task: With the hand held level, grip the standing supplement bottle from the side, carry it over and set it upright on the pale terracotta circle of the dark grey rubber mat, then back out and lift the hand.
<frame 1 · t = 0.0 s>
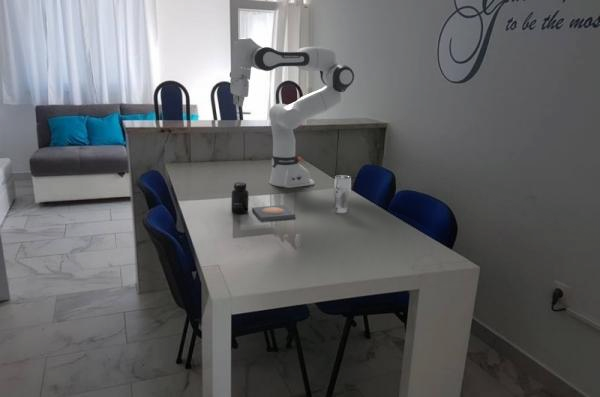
hand: (237, 105, 218), 39 cm above the table, tool pointing down, fingers open, 8 cm apart
supplement bottle: (240, 212, 191), on the table
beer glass: (340, 212, 195), on the table
mat: (273, 214, 189), on the table
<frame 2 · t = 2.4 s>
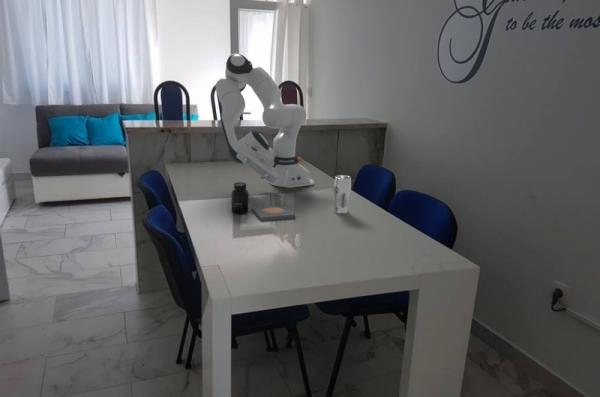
hand: (253, 170, 199), 14 cm above the table, tool horizontal, fingers open, 8 cm apart
nothing on the table moved.
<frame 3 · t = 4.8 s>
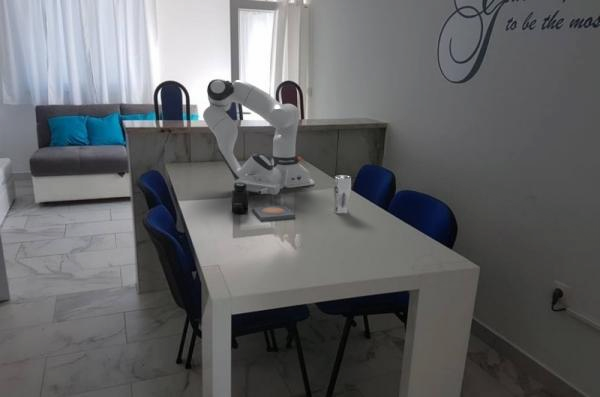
hand: (250, 190, 198), 6 cm above the table, tool horizontal, fingers open, 8 cm apart
nothing on the table moved.
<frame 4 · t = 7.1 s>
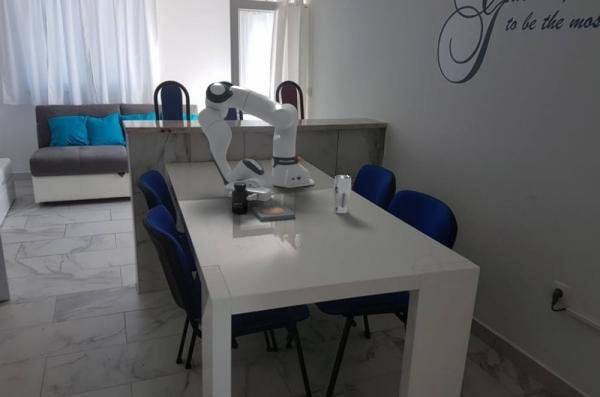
hand: (239, 197, 188), 7 cm above the table, tool horizontal, fingers closed on supplement bottle, 7 cm apart
supplement bottle: (240, 212, 191), on the table, touching gripper
everything else where it was.
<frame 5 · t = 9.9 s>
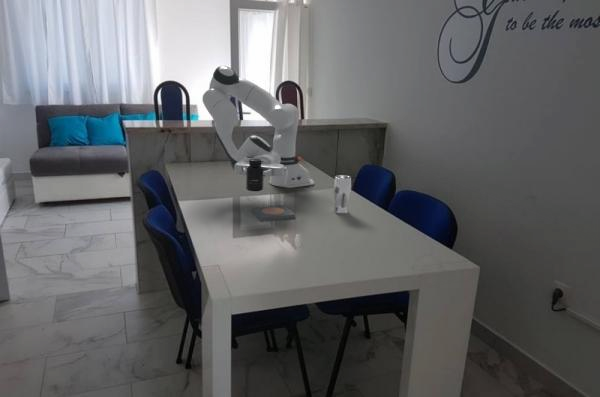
hand: (254, 173, 184), 17 cm above the table, tool horizontal, fingers closed on supplement bottle, 7 cm apart
supplement bottle: (254, 189, 187), point 10 cm above the table, touching gripper
everything else where it was.
when the fingers open (9 cm above the table, at t = 13.0 s): supplement bottle stays where it is, resting on mat.
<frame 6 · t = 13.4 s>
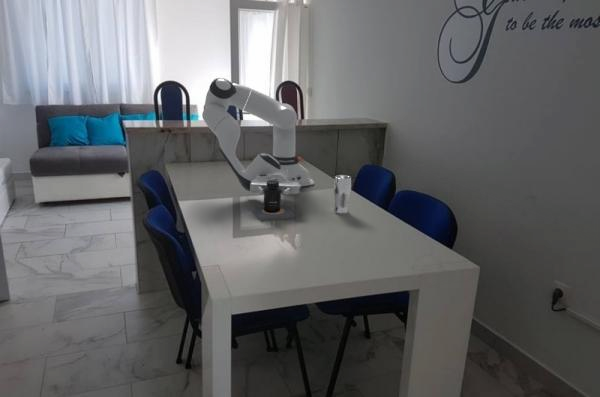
hand: (273, 192, 186), 9 cm above the table, tool horizontal, fingers open, 8 cm apart
supplement bottle: (272, 211, 189), point 1 cm above the table, touching mat
everything else where it was.
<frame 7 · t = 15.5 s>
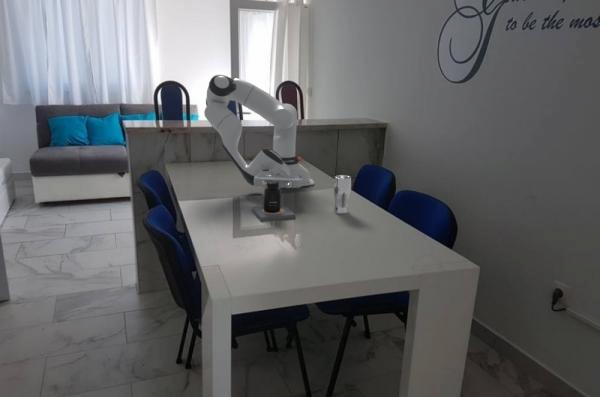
hand: (275, 186, 195), 9 cm above the table, tool horizontal, fingers open, 8 cm apart
nothing on the table moved.
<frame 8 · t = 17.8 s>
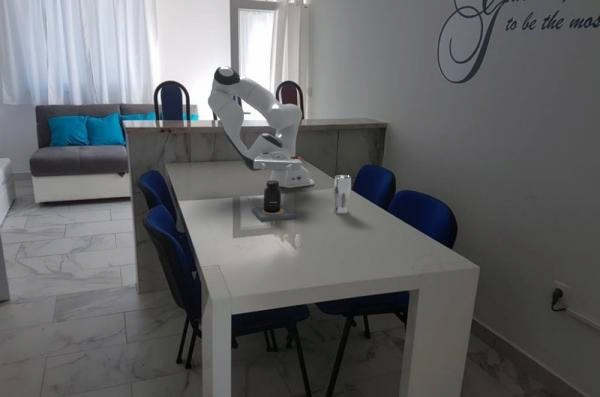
hand: (275, 168, 193), 17 cm above the table, tool horizontal, fingers open, 8 cm apart
nothing on the table moved.
at the end: supplement bottle inside the target area on the mat (0.4 cm from its centre), point 1.4 cm above the mat's base; supplement bottle tilted 0°; the gripper is holding nothing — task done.
